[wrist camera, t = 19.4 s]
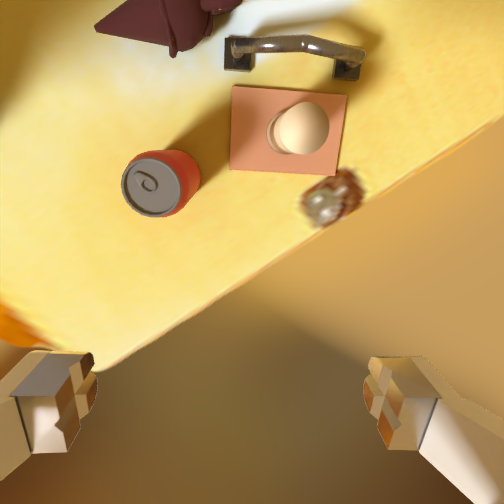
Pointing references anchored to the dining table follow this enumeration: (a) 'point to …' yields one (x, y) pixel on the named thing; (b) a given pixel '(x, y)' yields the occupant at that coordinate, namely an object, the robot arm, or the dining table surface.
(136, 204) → the beer can
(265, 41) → the bent metal handle
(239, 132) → the tile
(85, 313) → the dining table surface
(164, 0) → the icecream
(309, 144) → the birch post
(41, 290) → the dining table surface
